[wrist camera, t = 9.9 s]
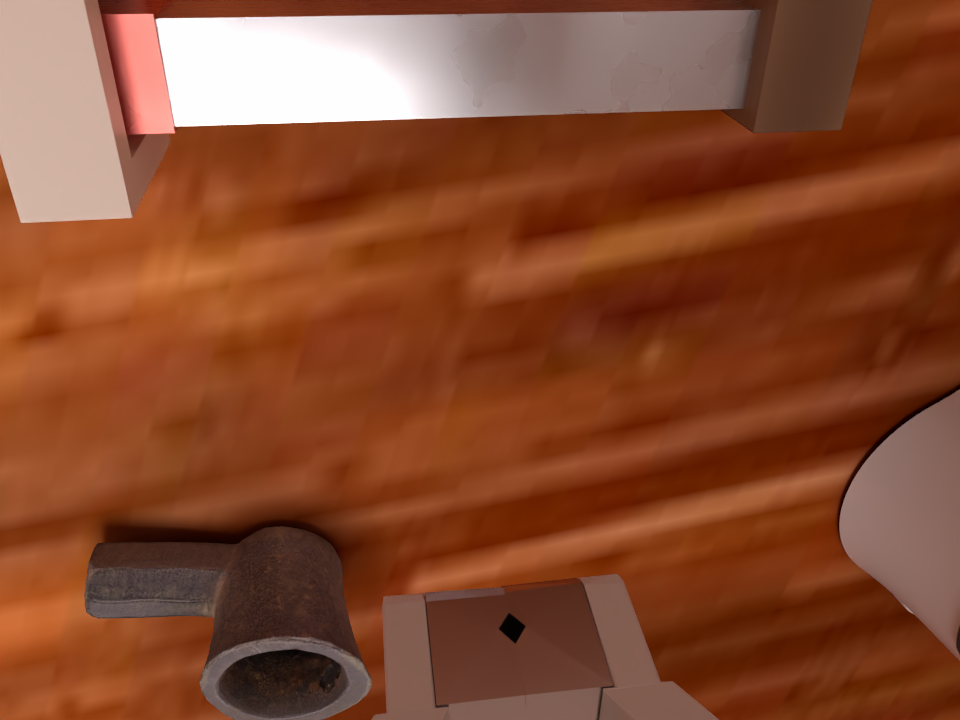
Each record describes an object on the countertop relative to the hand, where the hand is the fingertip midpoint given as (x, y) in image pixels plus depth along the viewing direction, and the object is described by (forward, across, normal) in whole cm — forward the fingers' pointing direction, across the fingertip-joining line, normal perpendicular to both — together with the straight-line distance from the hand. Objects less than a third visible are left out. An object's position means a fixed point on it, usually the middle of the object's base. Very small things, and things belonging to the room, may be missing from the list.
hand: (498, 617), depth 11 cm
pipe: (+25, +9, +22) cm, 34 cm away
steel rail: (+22, +1, -3) cm, 22 cm away
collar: (+24, +10, -2) cm, 26 cm away
